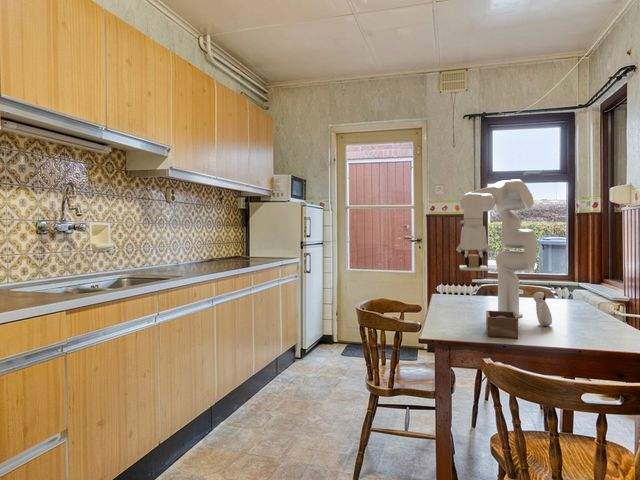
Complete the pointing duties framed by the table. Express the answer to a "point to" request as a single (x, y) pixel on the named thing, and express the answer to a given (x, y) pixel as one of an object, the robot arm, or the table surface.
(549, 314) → the toy
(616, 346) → the table surface
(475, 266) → the lid
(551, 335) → the table surface
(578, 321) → the table surface
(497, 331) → the box
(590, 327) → the table surface
